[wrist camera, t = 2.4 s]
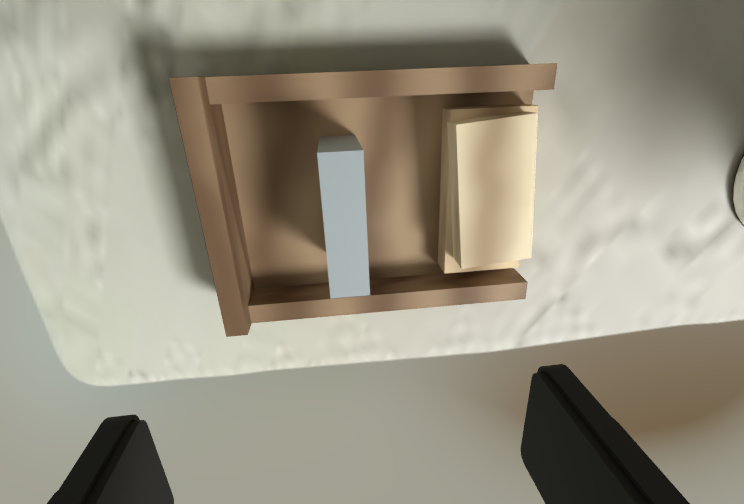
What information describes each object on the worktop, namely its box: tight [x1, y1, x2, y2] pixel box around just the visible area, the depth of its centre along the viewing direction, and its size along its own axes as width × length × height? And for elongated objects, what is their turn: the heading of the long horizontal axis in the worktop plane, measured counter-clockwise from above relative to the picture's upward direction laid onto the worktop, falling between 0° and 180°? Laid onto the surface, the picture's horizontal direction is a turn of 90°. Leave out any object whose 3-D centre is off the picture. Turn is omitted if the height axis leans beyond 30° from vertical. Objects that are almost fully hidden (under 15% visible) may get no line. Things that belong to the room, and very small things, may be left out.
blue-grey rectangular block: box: [317, 135, 370, 299], centre depth 26 cm, size 2×9×7 cm, turn 2°
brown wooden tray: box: [169, 63, 557, 337], centre depth 28 cm, size 23×17×5 cm
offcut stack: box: [438, 104, 539, 274], centre depth 28 cm, size 6×12×4 cm, turn 2°
